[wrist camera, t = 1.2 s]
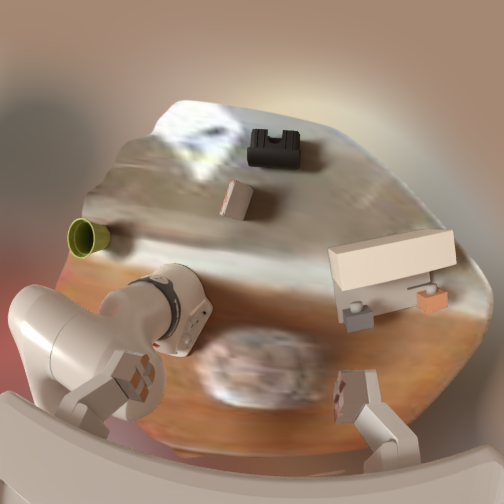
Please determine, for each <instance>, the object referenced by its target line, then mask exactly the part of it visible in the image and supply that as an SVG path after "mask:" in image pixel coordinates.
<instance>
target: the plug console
mask: <svg viewBox="0 0 504 504" xmlns="http://www.w3.org/2000/svg"><path fill="white" fill-rule="evenodd" d="M327 250H328V256H329V262H330V268H331V274H332V280H333V287H334V293H335V300H336V307H337V315H338V322H339V324H340V323H344V321H343V313H342V310H343V309H348V308H350V303H352V302H355V301H362V303H363V305H367V306H368V307H369V308H370V309H371V310H372V311H373V316H376V315H381V314H385V313H389V312H393V311H397V310H401V309H405V308H409V307H412V306H416V305H417V296H416V293H417V292H420V291H424V290H426V285H427V284H431V282H430V272H429V271H433V270H436V269H440V268H444V267H448V266H451V265H455V264H456V253H455V244H454V235H453V230H434V229H420V230H415V231H410V232H405V233H400V234H395V235H390V236H385V237H380V238H375V239H370V240H365V241H360V242H355V243H350V244H344V245H339V246H334V247H329V248H327Z"/></svg>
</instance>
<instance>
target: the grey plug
mask: <svg viewBox="0 0 504 504" xmlns="http://www.w3.org/2000/svg"><path fill="white" fill-rule="evenodd" d="M342 313H343V321H344V325H345V328H346V330H347V332H348V333H350V332H355V331H360V330H364V329H369V328H373V327H374V318H373V311H372V310H371V309H370V308H369V307H368V306H367V305H363V303H362V301H355V302H352V303H350V308H348V309H343V310H342Z"/></svg>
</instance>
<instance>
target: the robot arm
mask: <svg viewBox="0 0 504 504" xmlns="http://www.w3.org/2000/svg"><path fill="white" fill-rule="evenodd" d="M204 311H205V312H206V314H204ZM212 311H213V306H212V304H211V303H210V301H209V300H208V299H207V297H206V296H205V293H204V289H203V286H202V284H201V282H200V280H199V278H198V277H197V276H196V275H195V273H194V272H192V271H191V270H190V269H189V268H187V267H185V266H183V265H180V264H166V265H163V266H161V267H159V268H158V269H157V270H155V271H154V272H153V273H151V274H150V275H146V276H143V277H142V278H140V279H138V280H135V281H133V282H131V283H130V284H128V285H127V286H125V287H122V288H119V289H117V290H114V291H112V292H110V293H109V294H108V295H107V296H106V297H105V298H104V300H103V301H102V303H101V305H100V308H99V314H98V315H97V314H95V313H93V312H90V311H89V310H87V309H86V308H84V307H82V306H81V305H79V304H78V303H76V302H75V301H73V300H71V299H70V298H68V297H67V296H65V295H64V294H62V293H60V292H58V291H55V290H53V289H50V288H47V287H44V286H41V285H36V284H35V285H29V286H27V287H25V288H23V289H22V290H21V291H20V292H19V293H18V294H17V295H16V297H15V298H14V300H13V301H12V304H11V306H10V310H9V315H8V324H9V327H10V331H11V333H12V335H13V337H14V339H15V342H16V344H17V347H18V350H19V352H20V355H21V359H22V361H23V365H24V368H25V372H26V375H27V379H28V382H29V386H30V389H31V393H32V396H33V400H34V404H35V405H34V404H32V403H31V402H29V401H27V400H26V399H24V398H22V397H21V396H19V395H18V394H16V393H15V392H13V391H6V392H4V393H2V394H0V504H504V454H503V453H502V452H501V451H500V450H499V449H497V448H496V447H494V446H493V445H491V444H484V445H481V446H479V447H476V448H473V449H471V450H468V451H465V452H462V453H459V454H456V455H453V456H449V457H446V458H442V459H439V460H435V461H431V462H428V463H423V464H421V458H420V451H419V444H418V438H417V436H416V435H415V434H414V433H413V432H412V431H411V429H410V428H409V427H408V426H407V425H406V424H405V423H404V422H403V421H402V420H401V419H400V418H399V417H398V416H397V414H396V413H395V412H394V411H393V410H392V409H391V408H390V407H389V406H388V405H387V404H386V403H385V402H382V400H381V394H380V388H379V382H378V377H377V371H376V370H375V369H367V370H363V369H360V370H340V371H339V373H338V380H337V381H336V382H335V385H334V402H335V403H336V407H335V409H334V421H335V424H345V423H354V425H355V427H356V428H357V429H358V431H359V432H360V434H361V435H362V437H363V438H364V439H365V441H366V442H367V444H368V445H369V447H370V448H371V449H372V451H373V452H374V454H372V455H371V457H369V458H368V459H367V460H366V461H365V462H364V474H358V475H348V476H331V477H277V476H263V475H251V474H242V473H234V472H227V471H220V470H214V469H208V468H203V467H197V466H193V465H188V464H184V463H179V462H175V461H171V460H167V459H164V458H160V457H156V456H152V455H149V454H146V453H143V452H140V451H137V450H134V449H131V448H128V447H125V446H122V445H119V444H116V443H114V442H111V441H108V440H106V439H107V437H108V434H109V432H110V430H109V428H108V427H107V426H106V425H105V424H104V421H105V420H106V419H107V418H108V417H110V416H111V415H112V416H114V417H117V418H120V419H123V420H126V421H129V422H132V421H136V420H139V419H142V418H144V417H146V416H147V415H149V414H150V413H152V412H153V411H154V410H155V409H156V408H157V406H158V405H159V404H160V402H161V400H162V398H163V396H164V393H165V389H166V371H165V366H164V363H163V361H162V358H161V357H160V356H159V355H158V353H157V352H156V351H158V352H161V353H164V354H168V355H172V356H177V357H184V356H187V355H188V354H189V352H190V351H191V349H192V347H193V345H194V343H195V342H196V340H197V338H198V336H199V334H200V333H201V331H202V329H203V327H204V325H205V324H206V322H207V320H208V318H209V316H210V315H211V313H212ZM176 352H177V353H176Z"/></svg>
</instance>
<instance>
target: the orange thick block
mask: <svg viewBox="0 0 504 504" xmlns="http://www.w3.org/2000/svg"><path fill="white" fill-rule="evenodd" d="M416 296H417V307H418V308H420V309H421V310H423V311H424V312H426V313H430V312H433V311H437V310H440V309H443V308H446V307H448V294H447V292H446V291H444V290H442V289H439V288H437V284H435V283H431V284H427V285H426V290H424V291H420V292H417V293H416Z"/></svg>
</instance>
